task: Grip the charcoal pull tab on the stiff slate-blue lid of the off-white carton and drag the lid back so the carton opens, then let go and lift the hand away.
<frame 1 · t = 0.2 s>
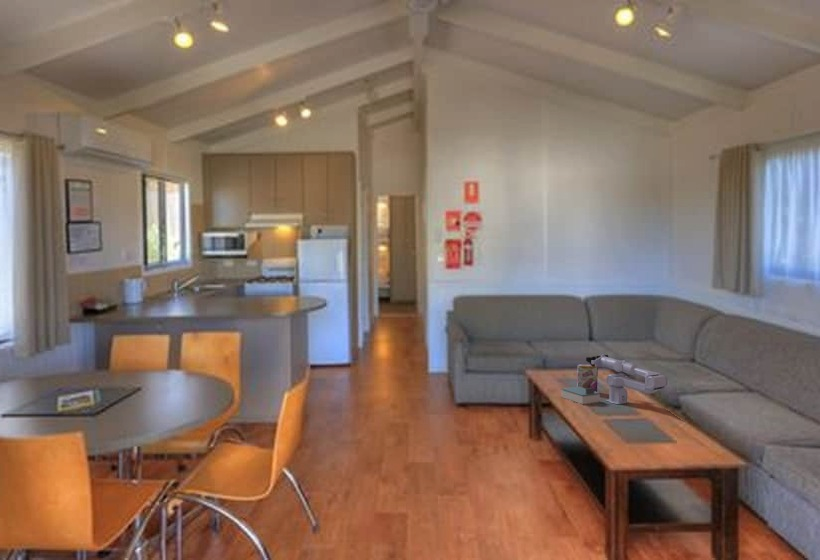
hand: (591, 358, 394), 21 cm above the table, tool horizontal, fingers open, 7 cm apart
carton lid: (580, 388, 383), point 7 cm above the table, slide at 0.0 cm
candy bar box: (587, 393, 400), on the table
carton: (580, 400, 383), on the table
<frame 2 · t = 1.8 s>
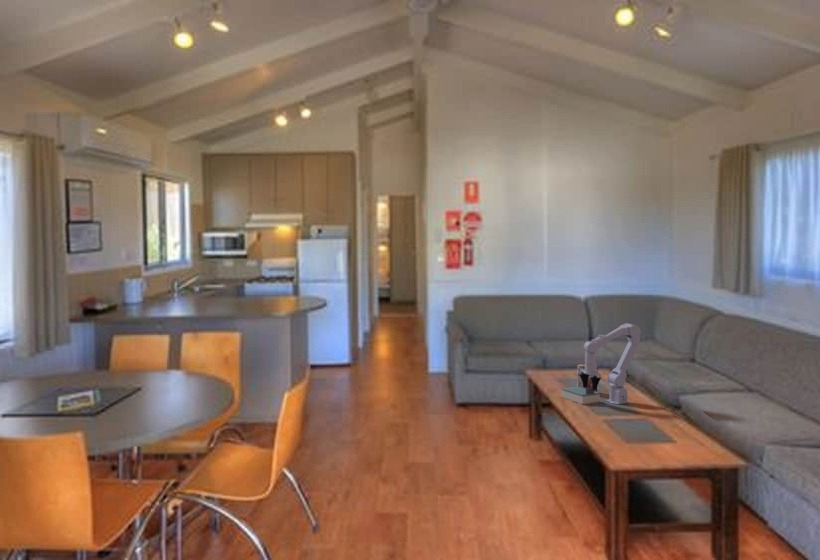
hand: (589, 388, 375), 8 cm above the table, tool pointing down, fingers open, 7 cm apart
nothing on the table moved.
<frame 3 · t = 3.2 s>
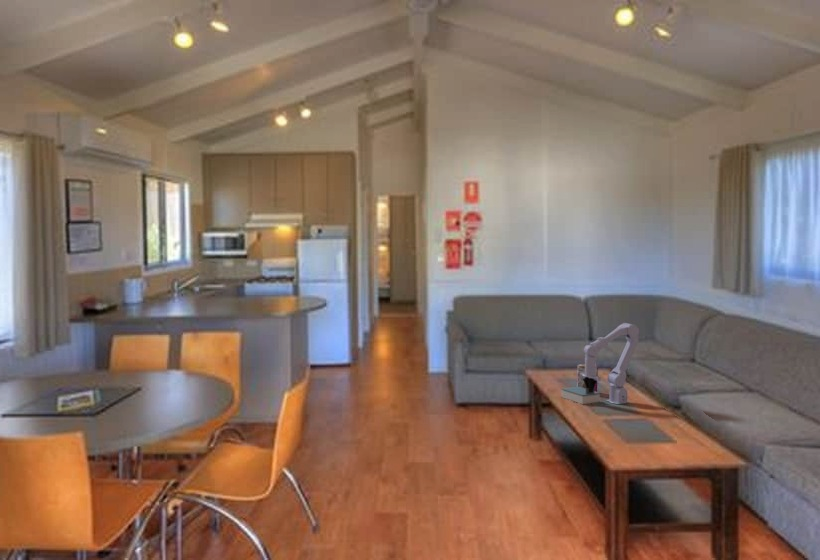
hand: (590, 391, 375), 6 cm above the table, tool pointing down, fingers closed on carton lid
carton lid: (580, 388, 383), point 7 cm above the table, slide at 0.0 cm, touching gripper
everything else where it was.
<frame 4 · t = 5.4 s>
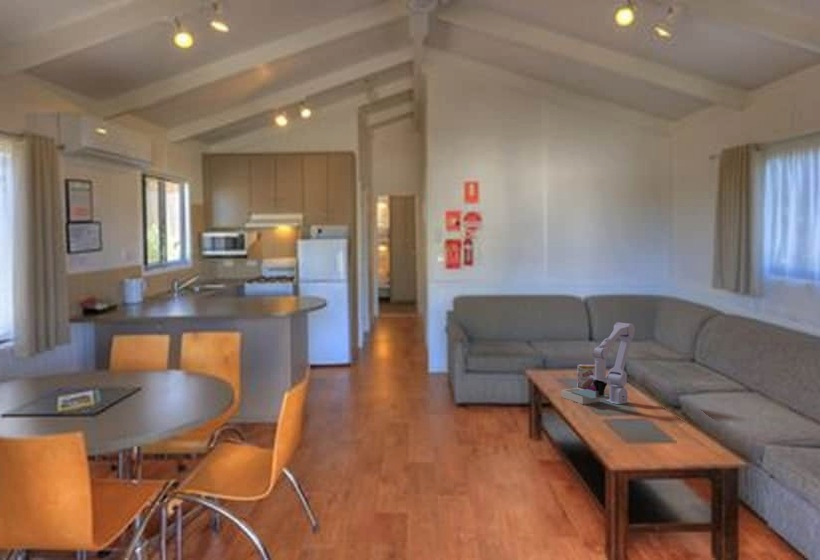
hand: (600, 394, 368), 6 cm above the table, tool pointing down, fingers closed on carton lid
carton lid: (590, 391, 375), point 7 cm above the table, slide at 8.0 cm, touching gripper
everything else where it was.
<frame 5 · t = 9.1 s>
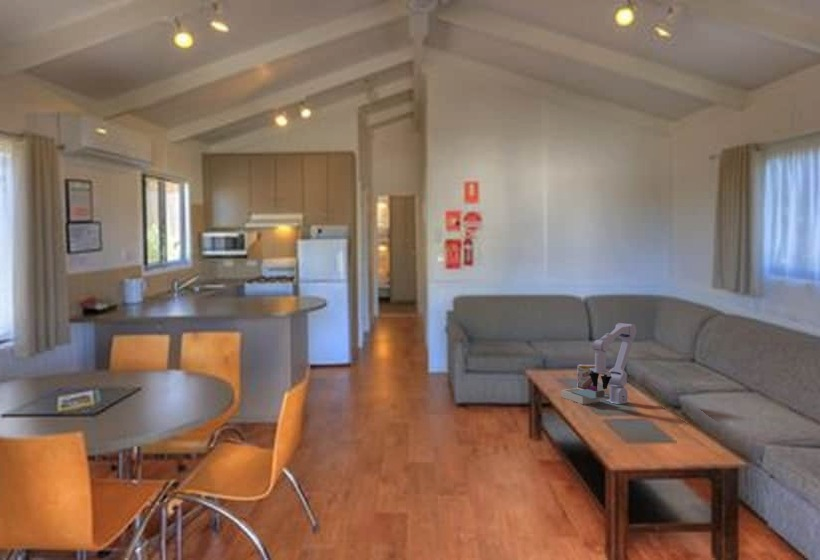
hand: (600, 387, 368), 10 cm above the table, tool pointing down, fingers open, 7 cm apart
carton lid: (590, 391, 375), point 7 cm above the table, slide at 8.0 cm
everything else where it was.
at the end: carton lid slide at 8.0 cm; the gripper is holding nothing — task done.
